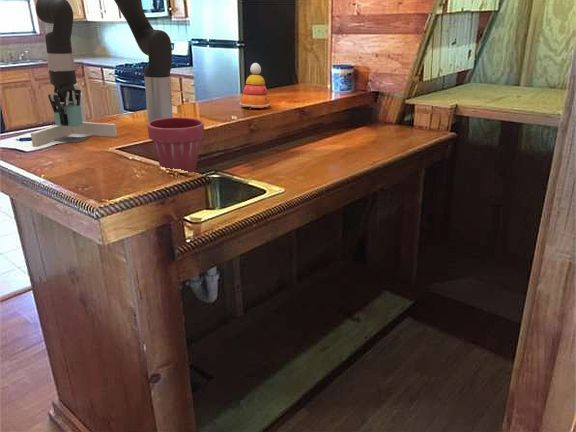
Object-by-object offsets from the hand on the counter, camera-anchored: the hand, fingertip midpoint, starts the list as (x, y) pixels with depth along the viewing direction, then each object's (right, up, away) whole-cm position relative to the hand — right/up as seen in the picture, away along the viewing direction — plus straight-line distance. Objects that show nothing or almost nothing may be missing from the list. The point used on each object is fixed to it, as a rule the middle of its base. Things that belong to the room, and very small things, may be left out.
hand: (69, 123), depth 160 cm
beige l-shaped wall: (+2, -5, +1) cm, 6 cm away
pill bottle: (-7, +3, +20) cm, 21 cm away
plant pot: (+41, -17, -26) cm, 51 cm away
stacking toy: (+55, +19, +67) cm, 89 cm away
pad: (0, -5, +2) cm, 5 cm away
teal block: (0, 0, 0) cm, 0 cm away
